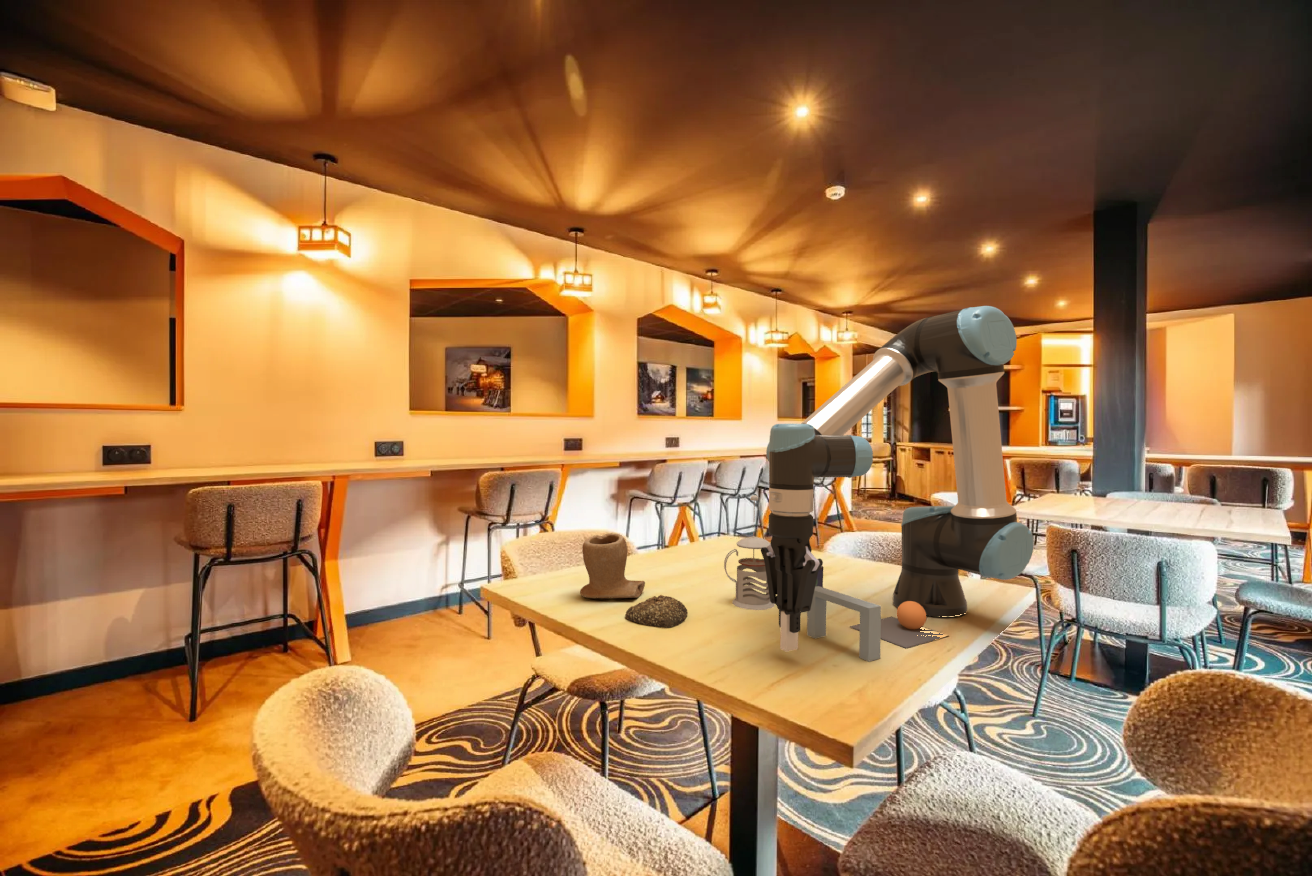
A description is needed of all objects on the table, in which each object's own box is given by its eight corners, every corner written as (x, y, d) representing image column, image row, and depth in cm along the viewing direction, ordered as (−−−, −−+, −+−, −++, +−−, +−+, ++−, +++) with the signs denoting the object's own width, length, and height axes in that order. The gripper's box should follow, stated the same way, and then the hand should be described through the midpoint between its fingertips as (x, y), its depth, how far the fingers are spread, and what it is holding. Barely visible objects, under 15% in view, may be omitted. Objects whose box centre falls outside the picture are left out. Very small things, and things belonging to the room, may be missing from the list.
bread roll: (667, 633, 112) (667, 608, 112) (617, 621, 119) (617, 597, 119) (699, 616, 122) (699, 593, 122) (651, 606, 129) (652, 584, 129)
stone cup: (575, 604, 129) (576, 538, 128) (584, 590, 140) (584, 529, 140) (642, 606, 128) (642, 539, 128) (645, 591, 140) (645, 530, 140)
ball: (906, 624, 118) (909, 597, 118) (931, 632, 113) (933, 604, 114) (889, 625, 115) (891, 598, 116) (913, 633, 110) (916, 605, 111)
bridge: (818, 632, 112) (818, 586, 112) (880, 658, 99) (881, 605, 99) (807, 635, 110) (807, 588, 110) (868, 661, 98) (869, 608, 97)
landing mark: (891, 617, 121) (891, 616, 121) (949, 636, 110) (949, 635, 110) (849, 627, 115) (849, 626, 115) (906, 648, 104) (906, 647, 104)
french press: (778, 610, 126) (780, 497, 125) (726, 609, 126) (727, 497, 126) (770, 597, 136) (771, 493, 135) (721, 596, 136) (723, 492, 135)
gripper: (749, 509, 102) (748, 640, 102) (802, 519, 90) (800, 666, 91) (781, 507, 105) (779, 633, 106) (835, 516, 94) (833, 657, 94)
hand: (789, 648), depth 98 cm, fingers closed
